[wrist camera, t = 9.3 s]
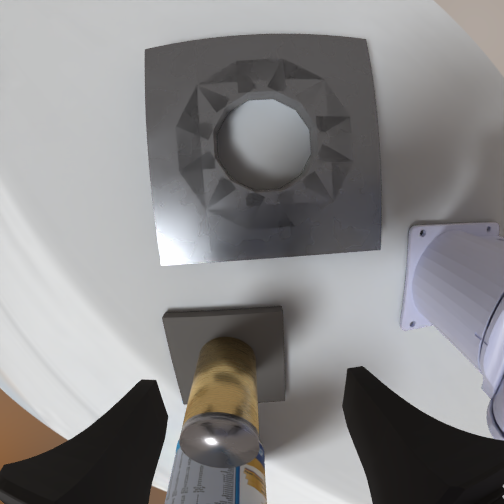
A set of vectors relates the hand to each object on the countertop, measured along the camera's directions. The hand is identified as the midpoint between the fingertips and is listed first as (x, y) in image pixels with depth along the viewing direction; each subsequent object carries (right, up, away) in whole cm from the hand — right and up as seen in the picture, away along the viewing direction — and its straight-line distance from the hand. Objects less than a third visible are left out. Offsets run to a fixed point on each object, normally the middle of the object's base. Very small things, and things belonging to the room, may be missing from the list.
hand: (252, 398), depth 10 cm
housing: (+1, +12, +7) cm, 14 cm away
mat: (-2, -2, +11) cm, 11 cm away
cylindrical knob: (-2, -2, +10) cm, 10 cm away
